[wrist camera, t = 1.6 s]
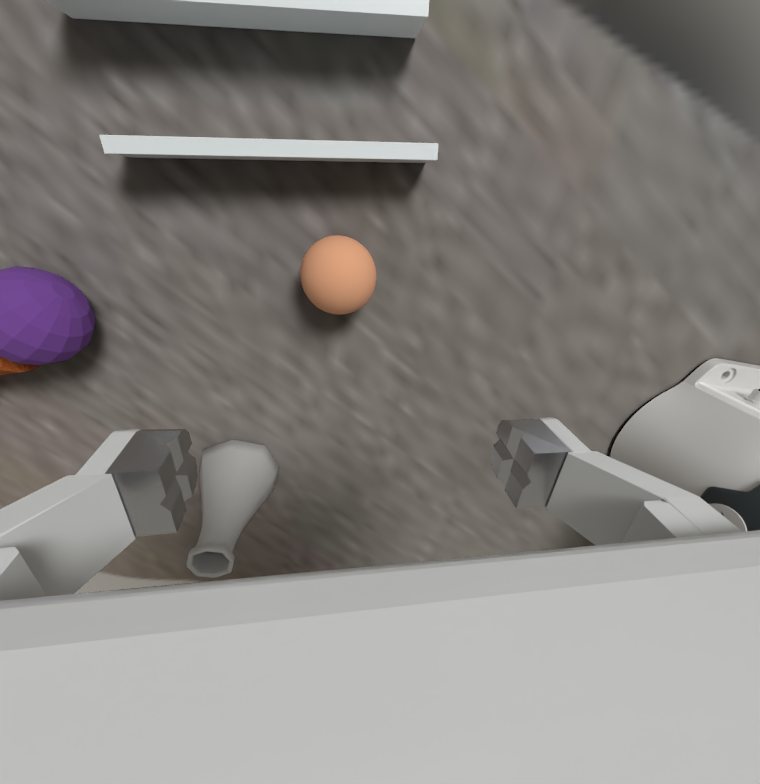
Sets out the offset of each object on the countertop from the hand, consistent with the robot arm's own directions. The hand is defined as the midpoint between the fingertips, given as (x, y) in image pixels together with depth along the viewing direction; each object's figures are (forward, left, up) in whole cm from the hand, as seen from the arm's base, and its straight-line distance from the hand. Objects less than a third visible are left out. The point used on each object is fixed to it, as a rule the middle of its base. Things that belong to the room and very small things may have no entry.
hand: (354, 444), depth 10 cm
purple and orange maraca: (+25, +5, -20) cm, 33 cm away
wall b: (+4, -14, -20) cm, 24 cm away
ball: (0, -1, -20) cm, 20 cm away
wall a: (+3, -8, -20) cm, 21 cm away
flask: (+10, +17, -20) cm, 28 cm away
